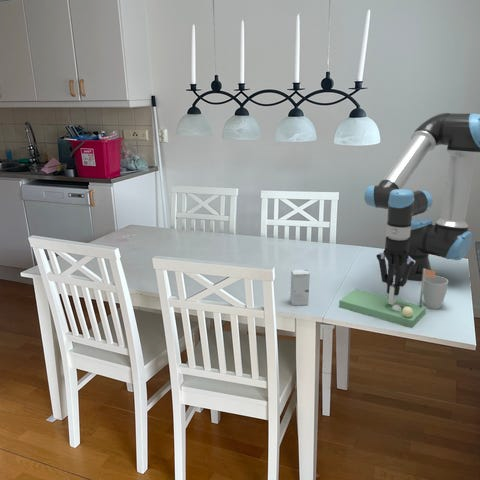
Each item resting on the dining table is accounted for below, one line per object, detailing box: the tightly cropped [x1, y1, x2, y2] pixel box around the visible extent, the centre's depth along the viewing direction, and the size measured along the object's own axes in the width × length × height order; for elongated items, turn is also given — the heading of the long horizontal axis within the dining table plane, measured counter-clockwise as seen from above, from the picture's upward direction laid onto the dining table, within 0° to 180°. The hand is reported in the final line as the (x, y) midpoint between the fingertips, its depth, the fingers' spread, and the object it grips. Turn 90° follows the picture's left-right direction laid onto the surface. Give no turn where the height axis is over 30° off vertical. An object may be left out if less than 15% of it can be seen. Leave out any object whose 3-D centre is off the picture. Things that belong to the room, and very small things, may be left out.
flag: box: [418, 268, 436, 308], centre depth 162 cm, size 1×4×14 cm, turn 52°
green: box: [338, 288, 427, 328], centre depth 169 cm, size 26×13×2 cm, turn 51°
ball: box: [392, 305, 402, 311], centre depth 165 cm, size 3×3×3 cm
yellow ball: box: [402, 306, 413, 317], centre depth 158 cm, size 3×3×3 cm
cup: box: [422, 275, 449, 310], centre depth 170 cm, size 8×8×10 cm
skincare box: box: [289, 269, 311, 306], centre depth 174 cm, size 6×4×12 cm
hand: (392, 302), depth 166 cm, fingers closed
